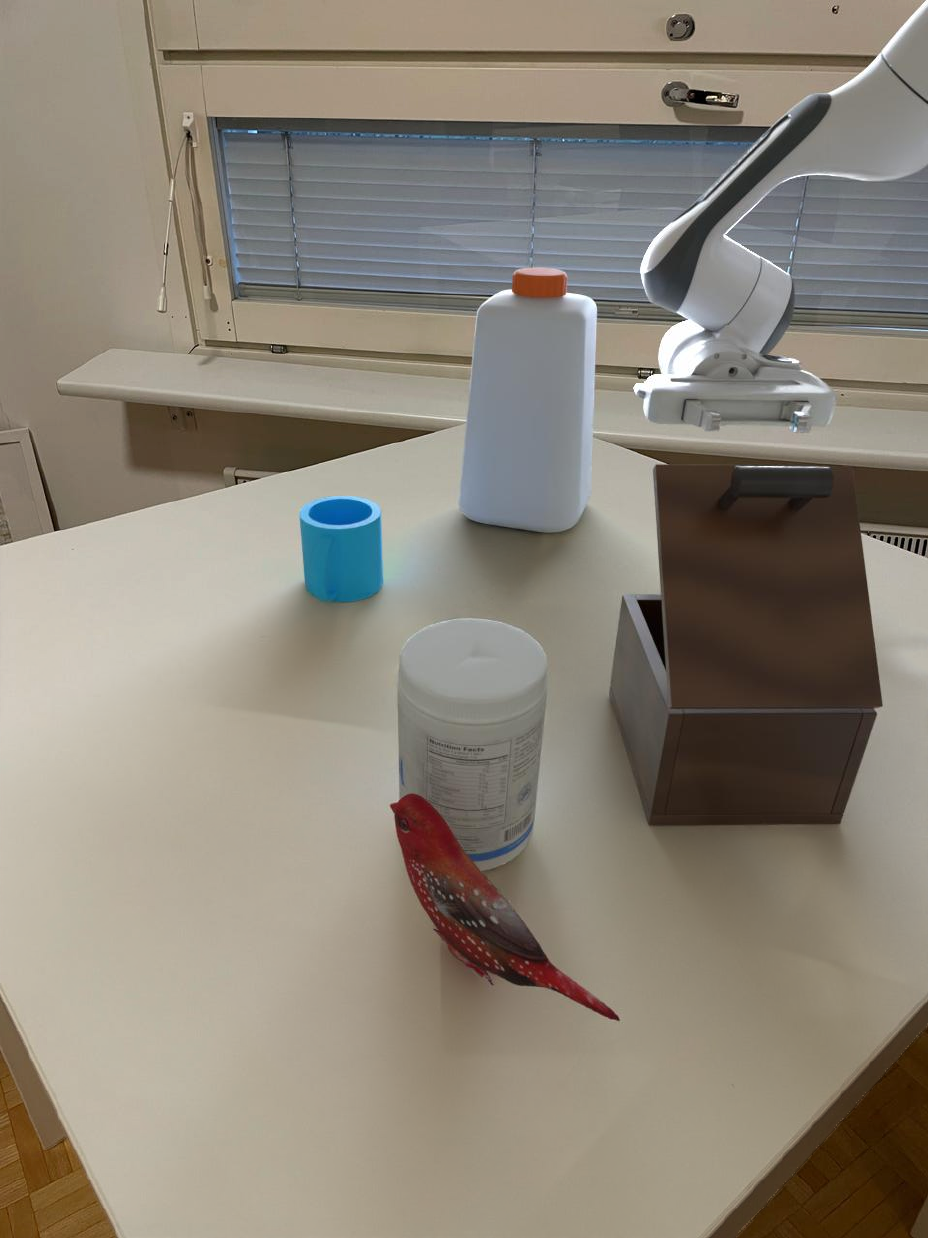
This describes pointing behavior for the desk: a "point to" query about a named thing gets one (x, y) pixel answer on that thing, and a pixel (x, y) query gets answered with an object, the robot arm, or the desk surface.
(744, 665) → the chest lid
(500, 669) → the supplement tub
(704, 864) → the desk surface
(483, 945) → the decorative bird figurine
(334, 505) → the mug
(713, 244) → the robot arm
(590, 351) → the plastic bottle
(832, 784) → the chest
